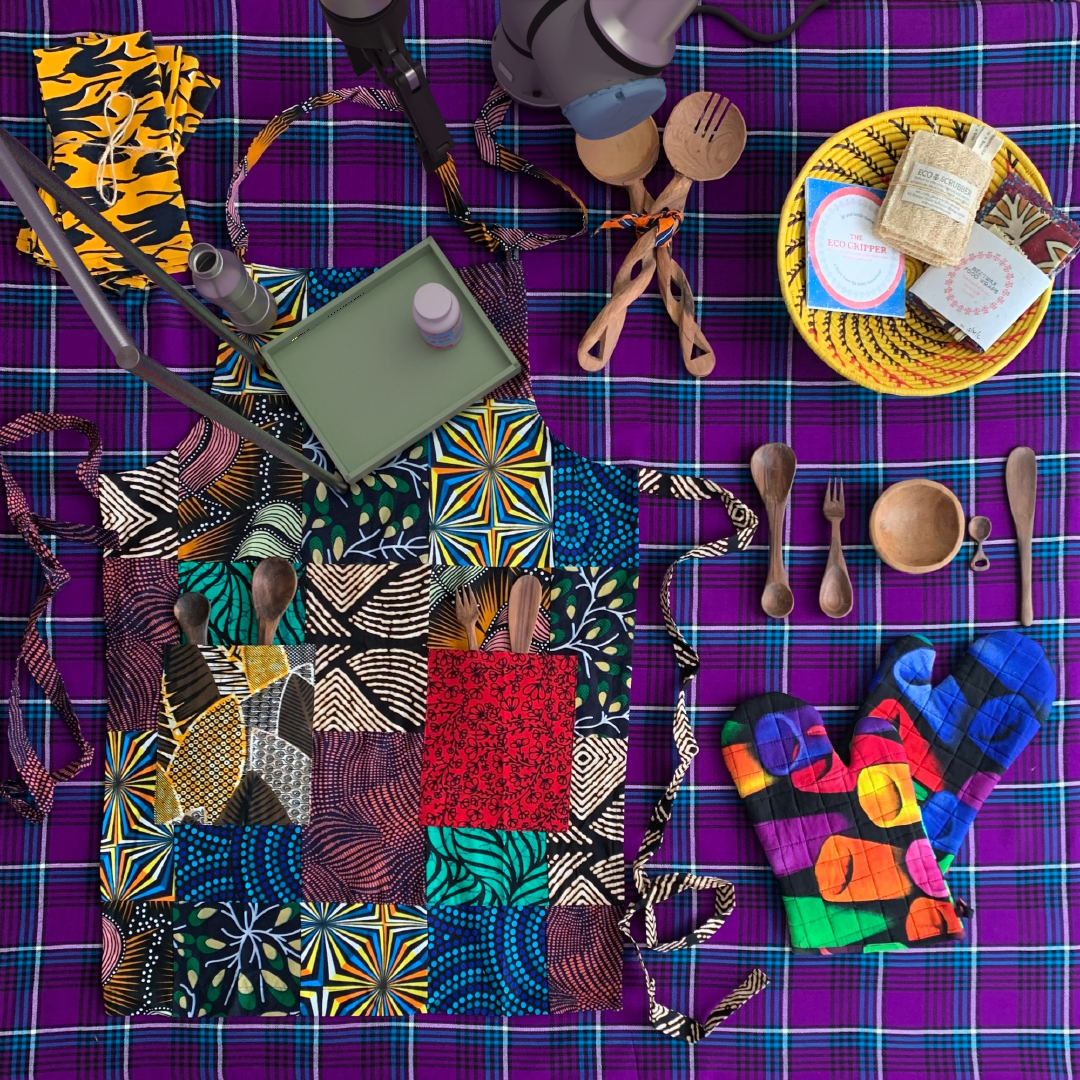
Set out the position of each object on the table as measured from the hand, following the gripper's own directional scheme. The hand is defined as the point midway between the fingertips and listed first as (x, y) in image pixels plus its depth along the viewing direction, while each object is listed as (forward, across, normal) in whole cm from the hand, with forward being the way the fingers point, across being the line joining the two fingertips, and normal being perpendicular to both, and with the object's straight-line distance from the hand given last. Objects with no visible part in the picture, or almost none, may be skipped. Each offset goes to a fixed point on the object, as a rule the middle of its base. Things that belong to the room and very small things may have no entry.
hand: (401, 116), depth 99 cm
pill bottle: (+26, +13, -8) cm, 30 cm away
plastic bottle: (+26, -3, -27) cm, 38 cm away
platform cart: (+26, +13, -17) cm, 34 cm away
